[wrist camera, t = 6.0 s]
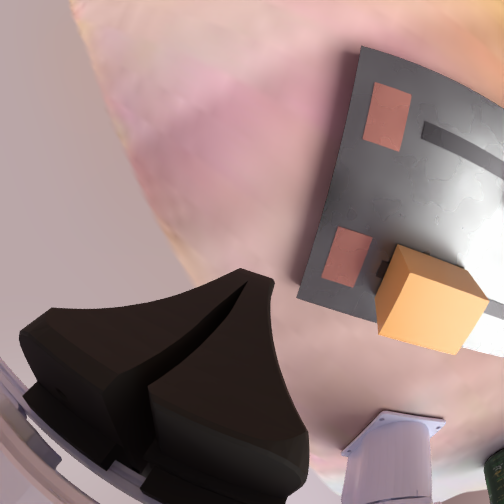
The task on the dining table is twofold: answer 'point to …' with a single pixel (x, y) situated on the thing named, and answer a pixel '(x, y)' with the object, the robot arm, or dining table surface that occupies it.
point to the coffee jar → (495, 477)
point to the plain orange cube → (428, 302)
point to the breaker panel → (412, 191)
